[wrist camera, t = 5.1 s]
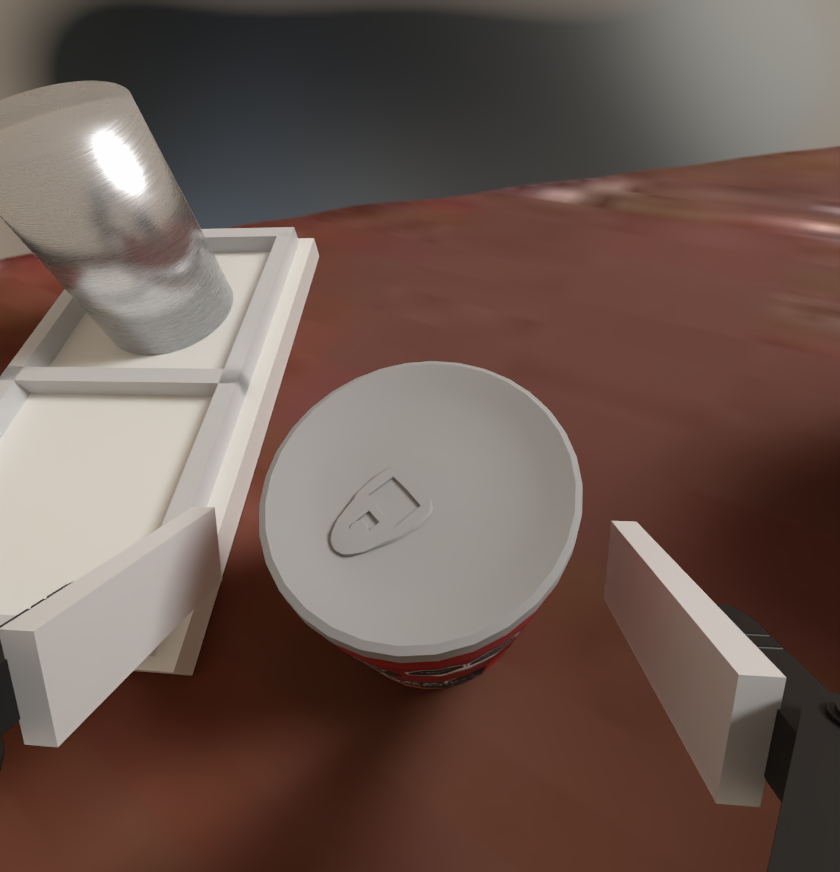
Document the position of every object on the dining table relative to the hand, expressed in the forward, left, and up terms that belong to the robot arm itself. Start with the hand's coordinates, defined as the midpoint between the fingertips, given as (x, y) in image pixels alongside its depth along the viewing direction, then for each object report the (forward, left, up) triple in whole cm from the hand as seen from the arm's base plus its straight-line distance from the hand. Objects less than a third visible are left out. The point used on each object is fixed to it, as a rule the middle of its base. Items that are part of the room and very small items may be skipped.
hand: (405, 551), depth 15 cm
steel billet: (+17, -17, -5) cm, 24 cm away
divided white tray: (+17, -10, -6) cm, 21 cm away
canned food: (-1, 0, -6) cm, 6 cm away
